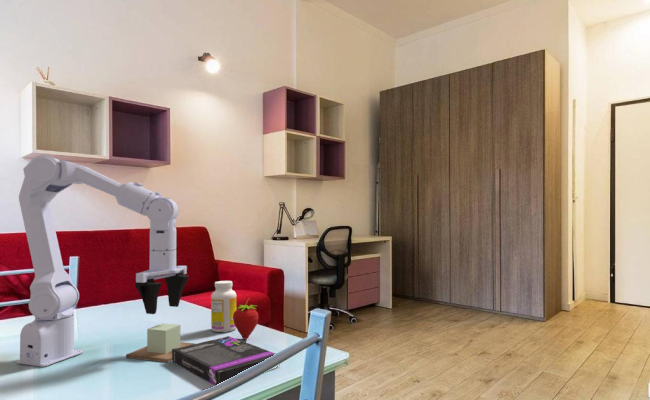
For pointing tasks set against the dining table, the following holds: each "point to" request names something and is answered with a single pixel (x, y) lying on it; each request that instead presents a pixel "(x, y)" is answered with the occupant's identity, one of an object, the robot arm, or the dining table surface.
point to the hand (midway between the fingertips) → (162, 309)
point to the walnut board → (154, 354)
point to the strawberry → (245, 319)
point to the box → (219, 358)
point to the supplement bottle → (223, 307)
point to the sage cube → (163, 338)
